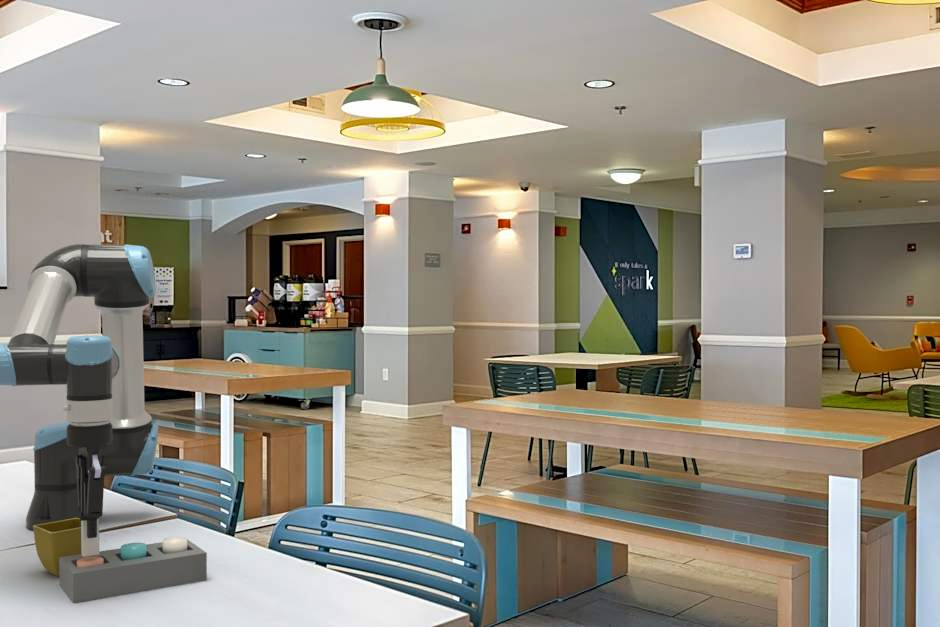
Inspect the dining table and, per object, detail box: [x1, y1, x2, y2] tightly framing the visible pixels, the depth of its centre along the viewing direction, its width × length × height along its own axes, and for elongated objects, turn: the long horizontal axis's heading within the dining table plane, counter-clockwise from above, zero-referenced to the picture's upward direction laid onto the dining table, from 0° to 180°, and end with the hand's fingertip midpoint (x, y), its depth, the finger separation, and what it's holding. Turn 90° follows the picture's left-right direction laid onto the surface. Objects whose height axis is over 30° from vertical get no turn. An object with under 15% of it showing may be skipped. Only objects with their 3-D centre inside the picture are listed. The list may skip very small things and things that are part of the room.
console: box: [58, 538, 208, 604], centre depth 166 cm, size 12×23×5 cm, turn 125°
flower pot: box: [32, 518, 81, 577], centre depth 173 cm, size 9×9×9 cm
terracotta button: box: [77, 557, 104, 568], centre depth 162 cm, size 4×4×3 cm
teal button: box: [120, 542, 147, 561], centre depth 166 cm, size 4×4×3 cm
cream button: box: [162, 536, 188, 554], centre depth 170 cm, size 4×4×3 cm
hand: (90, 554), depth 162 cm, fingers closed
